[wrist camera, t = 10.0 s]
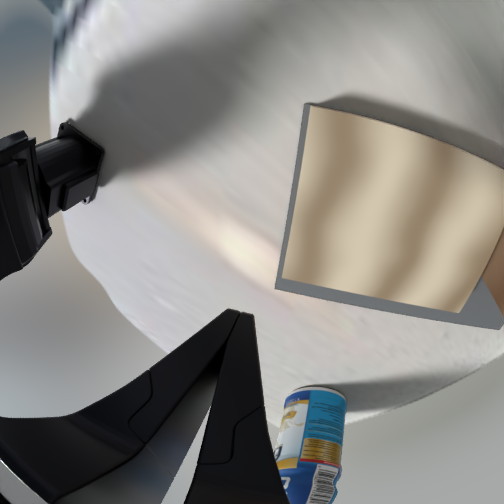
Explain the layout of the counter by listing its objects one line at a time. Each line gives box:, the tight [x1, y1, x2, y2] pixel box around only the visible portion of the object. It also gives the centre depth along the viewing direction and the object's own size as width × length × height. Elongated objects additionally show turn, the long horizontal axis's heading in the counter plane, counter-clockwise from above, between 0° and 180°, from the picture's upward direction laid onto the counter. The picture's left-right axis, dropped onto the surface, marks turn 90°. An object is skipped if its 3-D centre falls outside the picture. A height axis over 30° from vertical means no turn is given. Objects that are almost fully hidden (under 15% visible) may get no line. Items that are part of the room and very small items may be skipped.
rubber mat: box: [275, 104, 504, 330], centre depth 18 cm, size 26×15×1 cm, turn 85°
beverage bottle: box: [274, 387, 347, 504], centre depth 25 cm, size 8×8×20 cm
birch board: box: [282, 105, 504, 313], centre depth 17 cm, size 16×12×2 cm
